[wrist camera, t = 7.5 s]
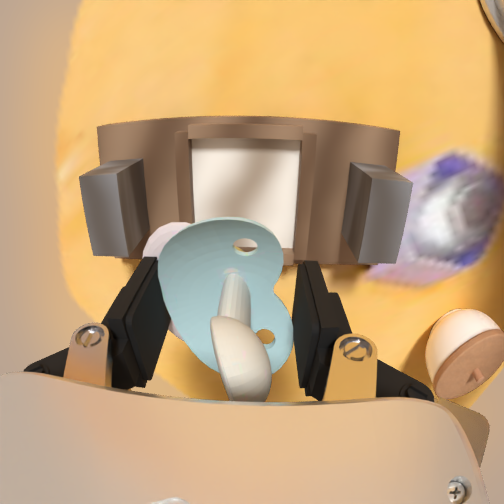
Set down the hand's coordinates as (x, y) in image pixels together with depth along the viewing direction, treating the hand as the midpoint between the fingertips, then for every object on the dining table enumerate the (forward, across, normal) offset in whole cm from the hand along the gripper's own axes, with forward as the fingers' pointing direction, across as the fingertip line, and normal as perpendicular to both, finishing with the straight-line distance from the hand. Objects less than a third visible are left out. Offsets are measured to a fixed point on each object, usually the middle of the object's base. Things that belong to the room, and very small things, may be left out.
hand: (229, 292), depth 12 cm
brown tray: (+14, 0, 0) cm, 14 cm away
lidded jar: (+15, -26, +16) cm, 34 cm away
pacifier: (+1, +1, 0) cm, 1 cm away
